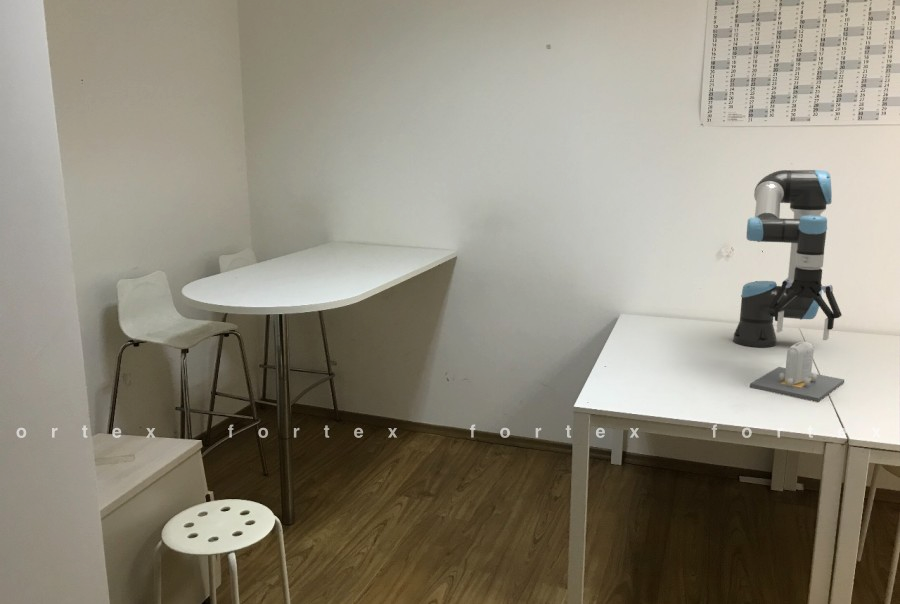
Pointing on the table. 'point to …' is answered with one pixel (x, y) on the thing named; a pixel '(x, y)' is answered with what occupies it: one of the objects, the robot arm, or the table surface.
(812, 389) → the pin tray
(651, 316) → the table surface
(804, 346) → the photo printer
